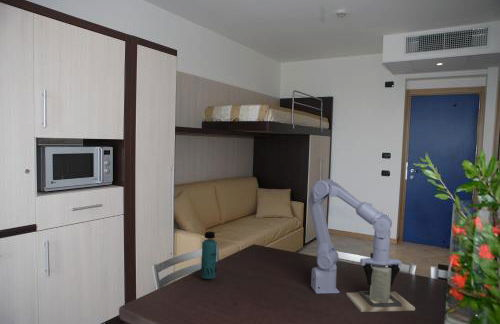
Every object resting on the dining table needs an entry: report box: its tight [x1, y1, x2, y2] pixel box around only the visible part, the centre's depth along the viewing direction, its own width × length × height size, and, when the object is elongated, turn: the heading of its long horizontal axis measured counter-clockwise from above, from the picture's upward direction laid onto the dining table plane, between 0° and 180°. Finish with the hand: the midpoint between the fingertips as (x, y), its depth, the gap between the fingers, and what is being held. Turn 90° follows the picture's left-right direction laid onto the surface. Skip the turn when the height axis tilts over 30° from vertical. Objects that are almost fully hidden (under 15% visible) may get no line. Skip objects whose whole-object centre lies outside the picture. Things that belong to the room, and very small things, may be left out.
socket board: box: [346, 290, 416, 313], centre depth 125 cm, size 20×13×2 cm, turn 96°
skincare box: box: [369, 265, 391, 303], centre depth 124 cm, size 6×4×12 cm
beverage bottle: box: [200, 231, 218, 280], centre depth 141 cm, size 6×7×20 cm
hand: (379, 284), depth 125 cm, fingers open, 7 cm apart
